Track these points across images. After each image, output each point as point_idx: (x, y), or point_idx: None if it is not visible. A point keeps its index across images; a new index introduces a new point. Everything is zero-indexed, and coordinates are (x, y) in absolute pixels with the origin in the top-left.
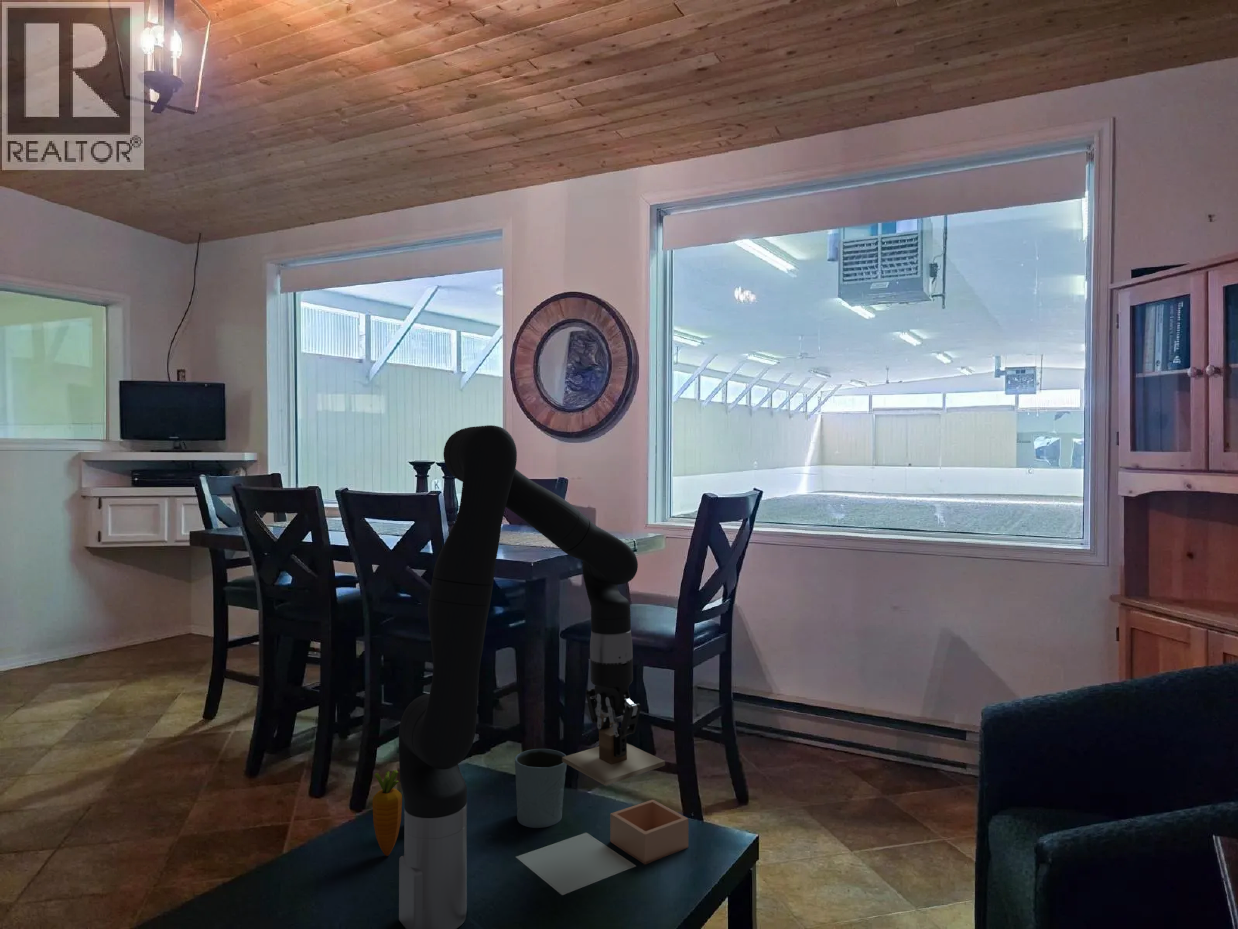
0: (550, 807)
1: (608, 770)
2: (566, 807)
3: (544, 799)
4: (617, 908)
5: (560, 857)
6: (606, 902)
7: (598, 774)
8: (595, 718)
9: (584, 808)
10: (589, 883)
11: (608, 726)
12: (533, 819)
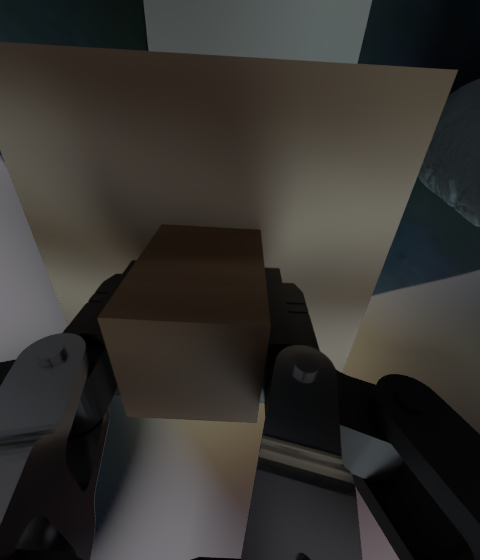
0: (443, 139)
1: (102, 167)
2: (443, 222)
3: (472, 122)
4: (37, 14)
5: (291, 47)
6: (70, 9)
7: (74, 77)
8: (387, 423)
9: (406, 245)
10: (148, 22)
11: (265, 401)
12: (466, 92)
